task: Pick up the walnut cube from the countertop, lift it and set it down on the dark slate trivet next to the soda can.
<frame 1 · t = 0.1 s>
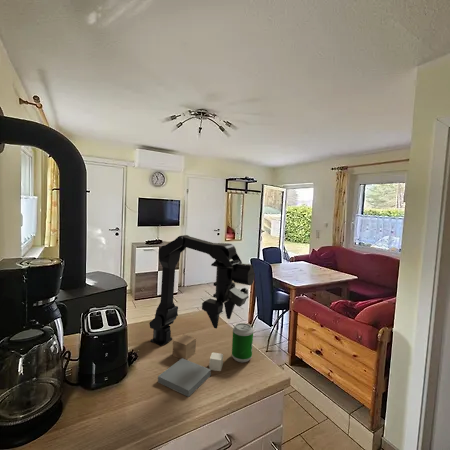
hand: (222, 323, 95), 15 cm above the kitchen counter, fingers open, 9 cm apart
walnut cube: (184, 354, 100), on the kitchen counter
pale stone block: (216, 367, 94), on the kitchen counter
slate trivet: (185, 378, 86), on the kitchen counter
soda can: (241, 358, 100), on the kitchen counter
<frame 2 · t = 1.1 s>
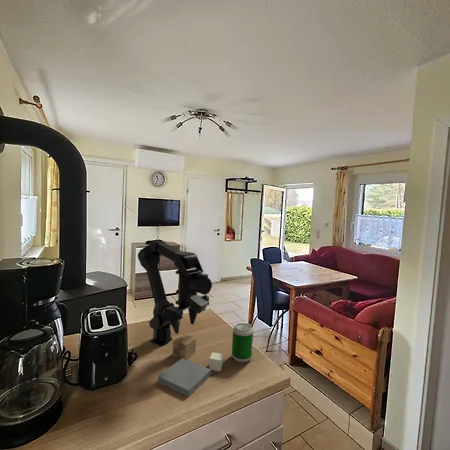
hand: (184, 328, 100), 10 cm above the kitchen counter, fingers open, 9 cm apart
nothing on the kitchen counter moved.
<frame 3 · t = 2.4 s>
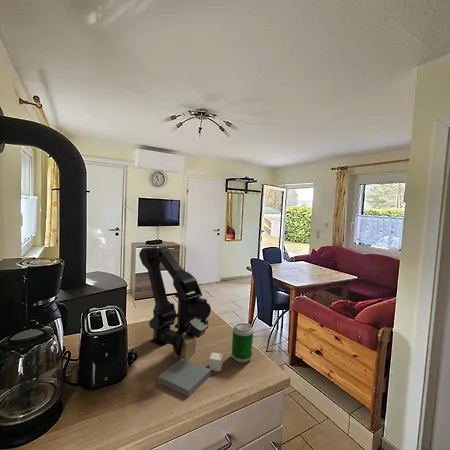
hand: (184, 351, 100), 1 cm above the kitchen counter, fingers closed on walnut cube, 6 cm apart
walnut cube: (184, 354, 100), on the kitchen counter, touching gripper
everything else where it was.
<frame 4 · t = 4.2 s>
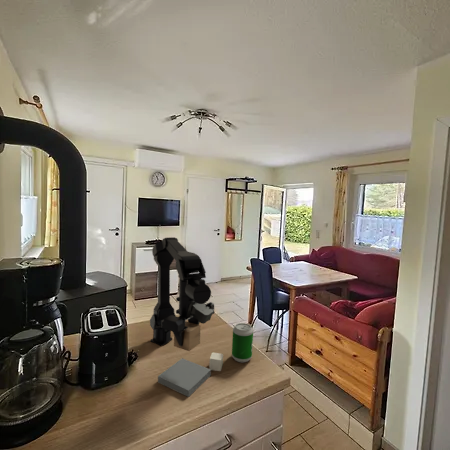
hand: (187, 341, 87), 12 cm above the kitchen counter, fingers closed on walnut cube, 6 cm apart
walnut cube: (187, 344, 87), point 11 cm above the kitchen counter, touching gripper
everything else where it was.
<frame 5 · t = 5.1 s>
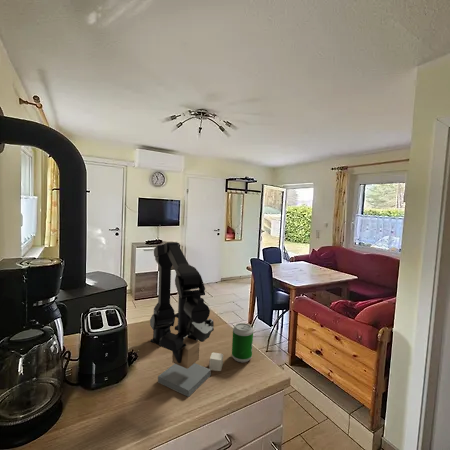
hand: (185, 357, 86), 7 cm above the kitchen counter, fingers closed on walnut cube, 6 cm apart
walnut cube: (185, 360, 86), point 6 cm above the kitchen counter, touching gripper
everything else where it was.
when the fingers open (4 cm above the kitchen counter, at t = 6.0 s): walnut cube drops 1 cm, resting on slate trivet.
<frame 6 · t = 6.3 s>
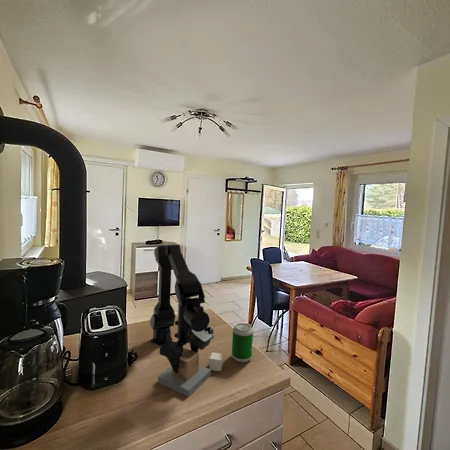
hand: (185, 365, 86), 4 cm above the kitchen counter, fingers open, 9 cm apart
walnut cube: (185, 372, 86), point 2 cm above the kitchen counter, touching slate trivet
everything else where it was.
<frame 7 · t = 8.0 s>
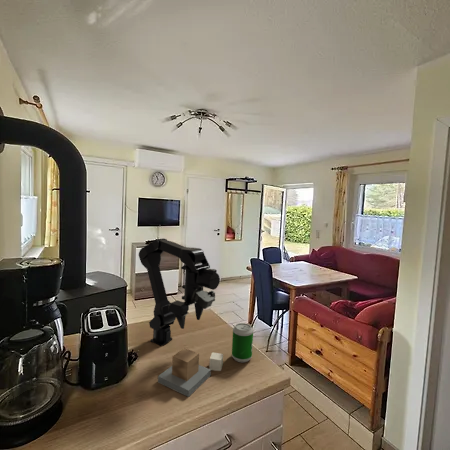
hand: (190, 324, 100), 12 cm above the kitchen counter, fingers open, 9 cm apart
nothing on the kitchen counter moved.
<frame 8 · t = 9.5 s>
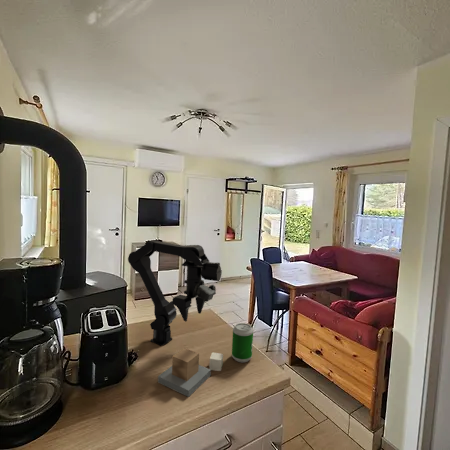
hand: (192, 317, 105), 12 cm above the kitchen counter, fingers open, 9 cm apart
nothing on the kitchen counter moved.
at the end: walnut cube inside the target area on the slate trivet (0.0 cm from its centre), point 2.0 cm above the slate trivet's base; walnut cube tilted 0°; the gripper is holding nothing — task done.
